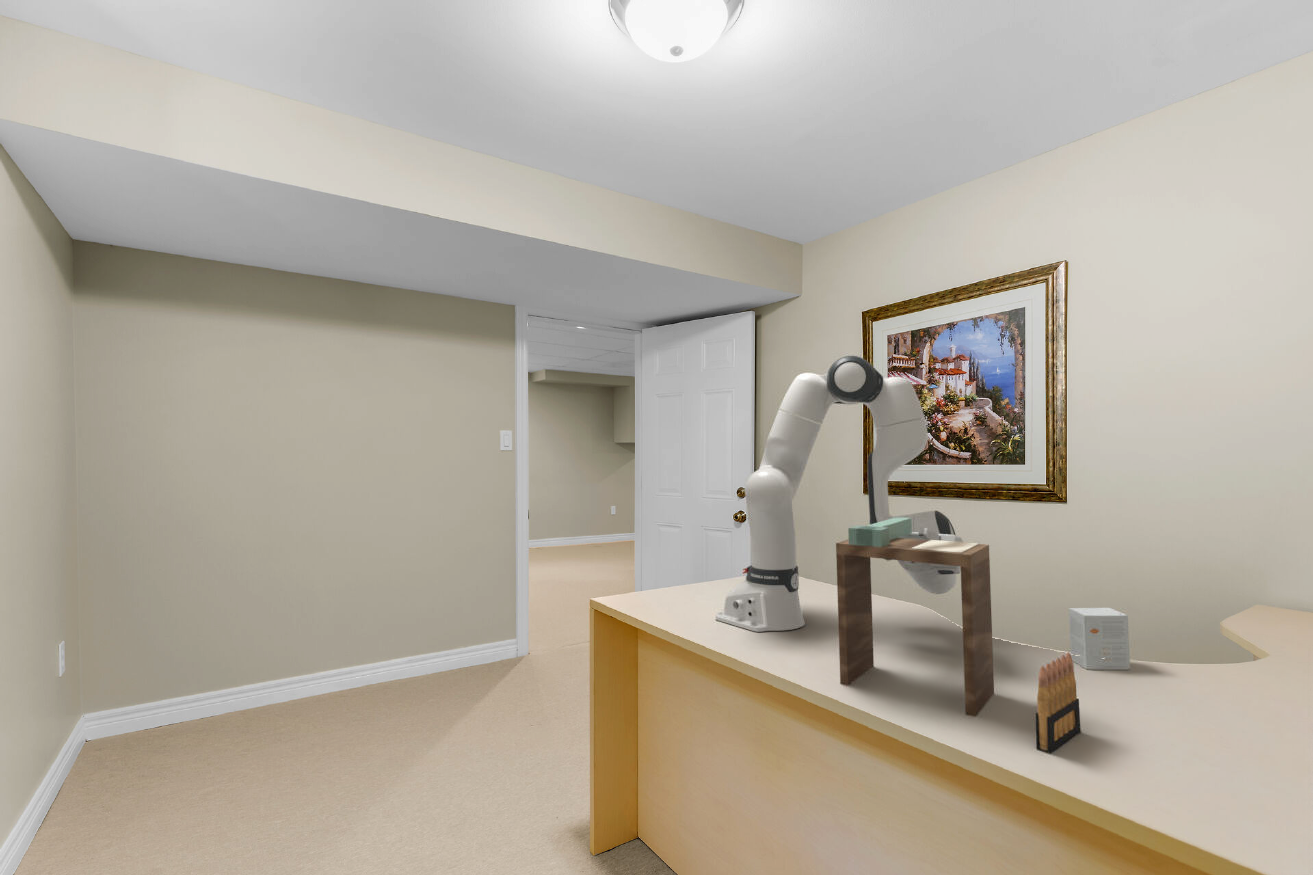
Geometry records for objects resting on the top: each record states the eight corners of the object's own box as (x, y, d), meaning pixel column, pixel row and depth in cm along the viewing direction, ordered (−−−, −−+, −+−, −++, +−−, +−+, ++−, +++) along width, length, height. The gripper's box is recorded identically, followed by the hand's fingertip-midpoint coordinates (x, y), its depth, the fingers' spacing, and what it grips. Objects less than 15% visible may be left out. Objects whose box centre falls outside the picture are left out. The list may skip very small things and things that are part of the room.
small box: (1112, 660, 123) (1110, 607, 123) (1131, 670, 117) (1129, 614, 117) (1069, 659, 124) (1067, 607, 124) (1086, 670, 118) (1084, 614, 118)
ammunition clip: (1050, 754, 87) (1046, 668, 87) (1035, 749, 89) (1032, 665, 89) (1081, 732, 93) (1078, 652, 93) (1067, 727, 95) (1064, 649, 95)
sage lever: (848, 544, 113) (848, 527, 113) (889, 531, 128) (889, 516, 128) (881, 547, 109) (880, 530, 109) (919, 533, 124) (919, 518, 124)
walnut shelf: (840, 683, 114) (835, 542, 115) (866, 665, 123) (862, 534, 124) (975, 716, 99) (970, 553, 100) (994, 693, 108) (989, 543, 109)
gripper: (874, 537, 141) (851, 512, 132) (971, 545, 127) (953, 518, 118) (869, 563, 138) (846, 539, 129) (968, 574, 125) (949, 549, 116)
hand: (898, 529), depth 124 cm, fingers open, 8 cm apart
